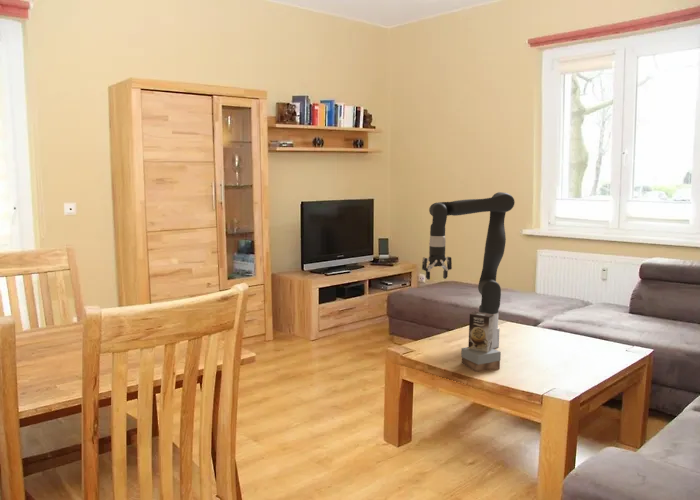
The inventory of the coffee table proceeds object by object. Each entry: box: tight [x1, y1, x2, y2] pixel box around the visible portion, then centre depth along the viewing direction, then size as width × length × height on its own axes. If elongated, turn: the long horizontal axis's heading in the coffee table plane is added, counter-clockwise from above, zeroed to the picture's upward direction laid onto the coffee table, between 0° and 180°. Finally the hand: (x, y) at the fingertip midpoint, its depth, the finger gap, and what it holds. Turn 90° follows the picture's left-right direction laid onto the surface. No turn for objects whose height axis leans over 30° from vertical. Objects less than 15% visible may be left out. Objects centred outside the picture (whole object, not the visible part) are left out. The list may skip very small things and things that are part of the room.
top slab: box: [460, 346, 502, 365], centre depth 272 cm, size 12×12×4 cm
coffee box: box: [467, 311, 494, 353], centre depth 272 cm, size 9×6×16 cm
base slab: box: [461, 357, 501, 373], centre depth 273 cm, size 12×12×4 cm
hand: (436, 278), depth 295 cm, fingers open, 8 cm apart
